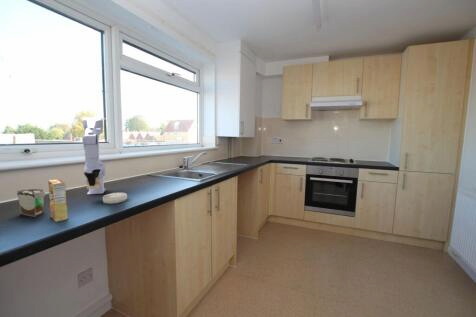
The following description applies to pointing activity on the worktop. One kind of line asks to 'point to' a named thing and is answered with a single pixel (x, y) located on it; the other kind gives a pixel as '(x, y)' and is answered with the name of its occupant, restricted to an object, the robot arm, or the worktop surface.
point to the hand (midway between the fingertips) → (93, 184)
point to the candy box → (58, 200)
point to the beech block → (97, 184)
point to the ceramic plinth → (114, 198)
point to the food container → (31, 201)
